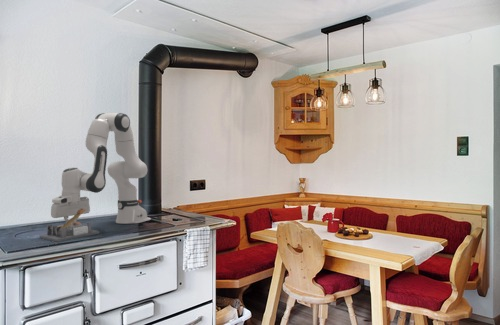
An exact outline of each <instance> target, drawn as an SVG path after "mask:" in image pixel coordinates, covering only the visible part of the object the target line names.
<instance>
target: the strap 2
mask: <svg viewBox="0 0 500 325" xmlns="http://www.w3.org/2000/svg"><path fill="white" fill-rule="evenodd" d="M84 211H85V209H80V210H79V211H77V214H76V215H75V216H74V215H73V216H72V217H71V218H70V219H68V220H69V221H68V222H67V223H66V222H65V224H62V225H63V226H62V227H61V228H64V227H66V228H67V227H68V226H69V225H70V224H71V223H73V221H74V220H75V219H77V218H78V217H80V216H81V215H83V214H82V213H83V212H84ZM78 219H79V218H78ZM78 219H77V220H78ZM61 228H59V229H58V231H60V232H61Z"/></svg>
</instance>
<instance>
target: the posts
mask: <svg viewBox="0 0 500 325" xmlns="http://www.w3.org/2000/svg"><path fill="white" fill-rule="evenodd" d="M86 223H87V225H86V226H88V233H90V232H91V230H92V222H86ZM57 226H59V225H52V224H47V225H46V234H47V235H50V234H52V236H55V235H56V237H58V236H61V238H64V237H66V227H64V228H61V227H60V226H59V227H57ZM49 227H52V230H50V229H49ZM59 228H61V232H60V231H58V229H59Z"/></svg>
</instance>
